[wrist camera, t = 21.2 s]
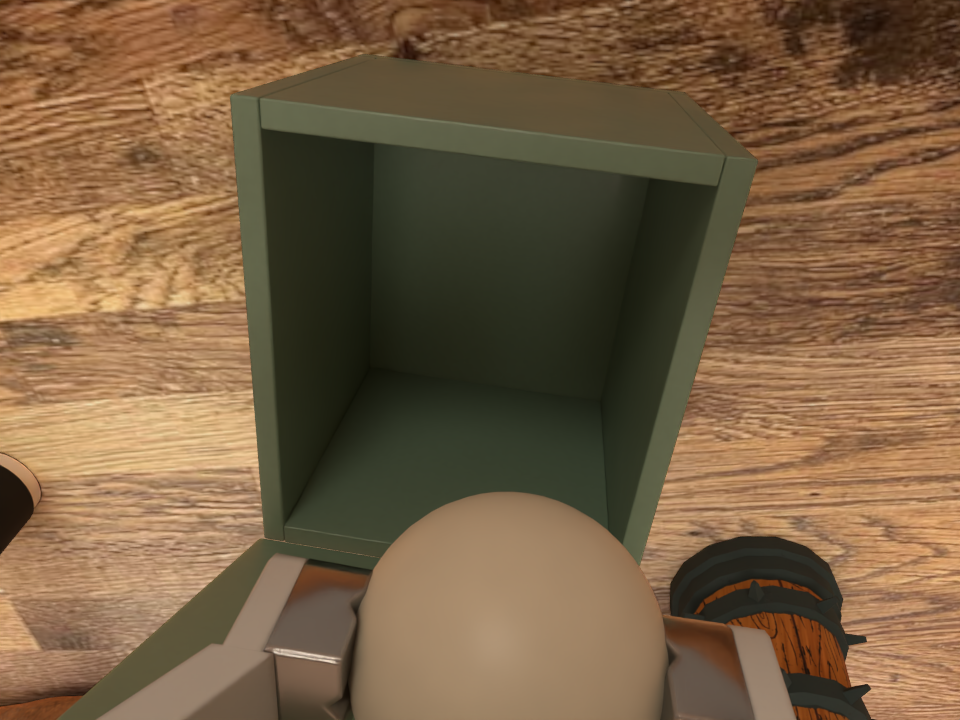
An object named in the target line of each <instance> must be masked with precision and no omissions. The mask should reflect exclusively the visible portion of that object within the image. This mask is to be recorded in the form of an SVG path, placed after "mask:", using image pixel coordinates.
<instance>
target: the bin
mask: <svg viewBox="0 0 960 720" xmlns="http://www.w3.org/2000/svg"><path fill="white" fill-rule="evenodd" d="M230 102H231V115H232V128H233V141H234V154H235V166H236V179H237V192H238V205H239V218H240V230H241V243H242V256H243V269H244V282H245V294H246V307H247V320H248V333H249V346H250V358H251V371H252V384H253V397H254V410H255V422H256V435H257V448H258V461H259V474H260V486H261V499H262V512H263V525H264V537H265V538H267V539H273V540H279V541H284V540H285V542H289V543H295V544H301V545H307V546H313V547H319V548H325V549H331V550H337V551H343V552H349V553H356V554H362V555H368V556H374V557H380V558H381V557H382V556H383V555H384V553H385V552H386V551H387V549H388V548H389V547H390V546H391V545H392V544H393V543H394V542H395V541H396V540H397V539H398V538H399V536H401V535H402V534H403V533H404V532H405V531H406V530H407V529H408V528H409V527H410V526H411V525H413V524H414V523H416V522H417V521H419V520H420V519H422V518H423V517H424V516H426V515H427V514H429V513H430V512H432V511H434V510H436V509H438V508H440V507H442V506H444V505H446V504H448V503H451V502H454V501H457V500H460V499H463V498H465V497H469V496H473V495H478V494H482V493H491V492H521V493H530V494H535V495H539V496H544V497H547V498H551V499H554V500H557V501H560V502H562V503H564V504H567V505H569V506H571V507H573V508H575V509H577V510H579V511H580V512H582V513H584V514H585V515H587V516H589V517H590V518H592V519H594V520H595V521H596V522H598V523H599V524H600V525H602V526H603V527H604V528H606V529H607V530H608V531H609V532H610V533H611V534H612V535H613V536H614V537H615V538H616V539H617V540H618V541H619V542H620V543H621V544H622V545H623V546H624V547H625V548H626V549H627V551H628V552H629V553H630V554H631V556H632V557H633V558H634V560H635V561H636V562H637V564H638V565H639V566H640V563H641V559H642V556H643V552H644V549H645V546H646V542H647V539H648V535H649V532H650V529H651V525H652V522H653V518H654V515H655V512H656V508H657V505H658V501H659V498H660V494H661V491H662V488H663V484H664V481H665V477H666V474H667V471H668V467H669V464H670V460H671V457H672V454H673V450H674V447H675V443H676V440H677V437H678V433H679V430H680V426H681V423H682V419H683V416H684V413H685V409H686V406H687V402H688V399H689V396H690V392H691V389H692V385H693V382H694V379H695V375H696V372H697V368H698V365H699V362H700V358H701V355H702V351H703V348H704V344H705V341H706V338H707V334H708V331H709V327H710V324H711V321H712V317H713V314H714V310H715V307H716V304H717V300H718V297H719V293H720V290H721V287H722V283H723V280H724V276H725V273H726V269H727V266H728V263H729V259H730V256H731V252H732V249H733V246H734V242H735V239H736V235H737V232H738V229H739V225H740V222H741V218H742V215H743V212H744V208H745V205H746V201H747V198H748V194H749V191H750V188H751V184H752V181H753V177H754V174H755V171H756V167H757V164H758V160H757V159H756V158H755V157H754V156H753V155H752V154H751V153H750V152H749V151H748V150H746V149H745V148H744V147H743V146H742V145H741V144H740V143H739V142H738V141H737V140H736V139H735V138H733V137H732V136H731V135H730V134H729V133H728V132H727V131H726V130H725V129H724V128H723V127H722V126H720V125H719V124H718V123H717V122H716V121H715V120H714V119H713V118H712V117H711V116H710V115H709V114H707V113H706V112H705V111H704V110H703V109H702V108H701V107H700V106H699V105H698V104H697V103H696V102H694V101H693V100H692V99H691V98H690V97H689V96H688V95H687V94H686V93H685V92H678V91H669V90H661V89H653V88H644V87H636V86H628V85H619V84H611V83H602V82H594V81H586V80H577V79H569V78H560V77H552V76H544V75H535V74H527V73H519V72H510V71H502V70H493V69H485V68H477V67H468V66H460V65H451V64H443V63H435V62H426V61H418V60H410V59H401V58H393V57H384V56H376V55H368V54H362V55H359V56H357V57H353V58H350V59H347V60H344V61H340V62H337V63H334V64H330V65H327V66H324V67H320V68H317V69H314V70H310V71H307V72H304V73H300V74H297V75H294V76H290V77H287V78H284V79H281V80H277V81H274V82H271V83H267V84H264V85H261V86H257V87H254V88H251V89H247V90H244V91H241V92H237V93H234V94H231V96H230Z"/></svg>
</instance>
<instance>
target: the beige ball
mask: <svg viewBox="0 0 960 720" xmlns="http://www.w3.org/2000/svg"><path fill="white" fill-rule="evenodd" d="M356 618H357V634H356V639H355V645H354V650H353V657H352V666H351V672H350V675H349V678H348V686H349V692H350V701H351V706H352V711H353V715H354V718H355V720H660V719H661V713H662V706H663V694H664V680H665V675H666V672H667V669H668V668H669V660H668V651H667V647H666V643H665V631H664V624H663V616H662V613H661V610H660V608H659V605H658V602H657V600H656V597H655V595H654V592H653V590H652V588H651V586H650V584H649V582H648V580H647V579H646V577H645V575H644V573H643V572H642V570H641V569H640V567H639V565H638V564H637V562H636V561H635V560H634V558H633V557H632V556H631V554H630V553H629V552H628V551H627V549H626V548H625V547H624V546H623V545H622V544H621V543H620V542H619V541H618V540H617V539H616V538H615V537H614V536H613V535H612V534H611V533H610V532H609V531H608V530H607V529H606V528H604V527H603V526H602V525H600V524H599V523H598V522H596V521H595V520H594V519H592V518H590V517H589V516H587V515H585V514H584V513H582V512H580V511H579V510H577V509H575V508H573V507H571V506H569V505H567V504H564V503H562V502H560V501H557V500H554V499H551V498H547V497H544V496H539V495H535V494H530V493H521V492H491V493H482V494H478V495H473V496H469V497H465V498H463V499H460V500H457V501H454V502H451V503H448V504H446V505H444V506H442V507H440V508H438V509H436V510H434V511H432V512H430V513H429V514H427V515H426V516H424V517H423V518H422V519H420V520H419V521H417V522H416V523H414V524H413V525H411V526H410V527H409V528H408V529H407V530H406V531H405V532H404V533H403V534H402V535H401V536H399V538H398V539H397V540H396V541H395V542H394V543H393V544H392V545H391V546H390V547H389V548H388V549H387V551H386V552H385V553H384V555H383V556H382V557H381V559H380V560H379V562H378V563H377V565H376V566H375V568H374V569H373V573H372V576H371V579H370V582H369V585H368V589H367V592H366V594H365V596H364V598H363V600H362V602H361V604H360V606H359V609H358V612H357V614H356Z"/></svg>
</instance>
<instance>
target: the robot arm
mask: <svg viewBox="0 0 960 720" xmlns="http://www.w3.org/2000/svg"><path fill="white" fill-rule="evenodd" d="M372 573H373V570H370V569H364V568H359V567H354V566H348V565H343V564H337V563H332V562H326V561H321V560H316V559H307V558H302V557H296V556H290V555H285V554H279V553H276V554H275V555H274V556H273V557H272V558H271V559H270V560H269V561H268V562H267V564H266V566H265V567H264V569H263V571H262V573H261V575H260V577H259V578H258V580H257V582H256V584H255V586H254V588H253V589H252V591H251V593H250V595H249V597H248V599H247V600H246V602H245V604H244V606H243V608H242V609H241V611H240V613H239V615H238V617H237V619H236V620H235V622H234V624H233V626H232V628H231V630H230V631H229V633H228V635H227V637H226V639H225V641H224V642H223V644H222V645H221V644H214V643H211V644H210V645H208V646H207V647H205V648H204V649H202V650H201V651H199V652H198V653H196V654H195V655H193V656H192V657H190V658H189V659H187V660H186V661H184V662H183V663H181V664H180V665H178V666H177V667H175V668H173V669H172V670H170V671H169V672H167V673H166V674H164V675H163V676H161V677H160V678H158V679H157V680H155V681H154V682H152V683H151V684H149V685H148V686H146V687H145V688H143V689H142V690H140V691H139V692H137V693H135V694H134V695H132V696H131V697H129V698H128V699H126V700H125V701H123V702H122V703H120V704H119V705H117V706H116V707H114V708H113V709H111V710H110V711H108V712H107V713H105V714H104V715H102V716H101V717H99V718H97V719H96V720H352V718H353V711H352V706H351V701H350V692H349V686H348V678H349V675H350V672H351V666H352V657H353V650H354V645H355V639H356V634H357V618H356V614H357V612H358V609H359V606H360V604H361V602H362V600H363V598H364V596H365V594H366V592H367V589H368V585H369V582H370V579H371V576H372ZM662 616H663V624H664V631H665V643H666V647H667V651H668V660H669V668H668V669H667V672H666V675H665V680H664V694H663V706H662V713H661V719H660V720H797V719H796V716H795V713H794V710H793V707H792V704H791V701H790V697H789V694H788V691H787V688H786V685H785V682H784V679H783V676H782V673H781V669H780V666H779V663H778V660H777V657H776V654H775V651H774V648H773V645H772V641H771V638H770V636H769V635H768V634H767V633H766V631H765V630H761V629H754V628H748V627H741V626H734V625H725V624H723V623H716V622H709V621H702V620H695V619H688V618H681V617H675V616H668V615H662Z"/></svg>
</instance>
